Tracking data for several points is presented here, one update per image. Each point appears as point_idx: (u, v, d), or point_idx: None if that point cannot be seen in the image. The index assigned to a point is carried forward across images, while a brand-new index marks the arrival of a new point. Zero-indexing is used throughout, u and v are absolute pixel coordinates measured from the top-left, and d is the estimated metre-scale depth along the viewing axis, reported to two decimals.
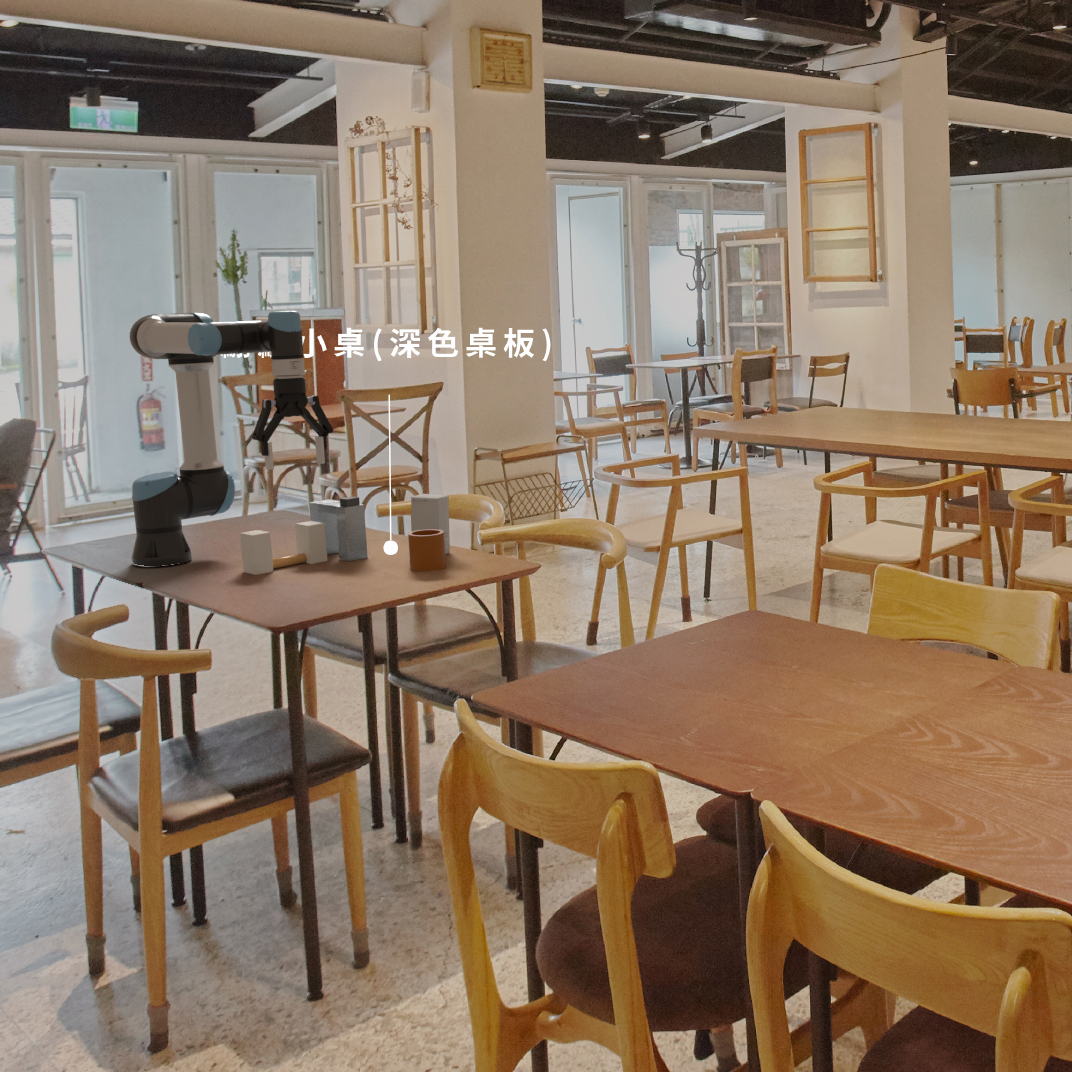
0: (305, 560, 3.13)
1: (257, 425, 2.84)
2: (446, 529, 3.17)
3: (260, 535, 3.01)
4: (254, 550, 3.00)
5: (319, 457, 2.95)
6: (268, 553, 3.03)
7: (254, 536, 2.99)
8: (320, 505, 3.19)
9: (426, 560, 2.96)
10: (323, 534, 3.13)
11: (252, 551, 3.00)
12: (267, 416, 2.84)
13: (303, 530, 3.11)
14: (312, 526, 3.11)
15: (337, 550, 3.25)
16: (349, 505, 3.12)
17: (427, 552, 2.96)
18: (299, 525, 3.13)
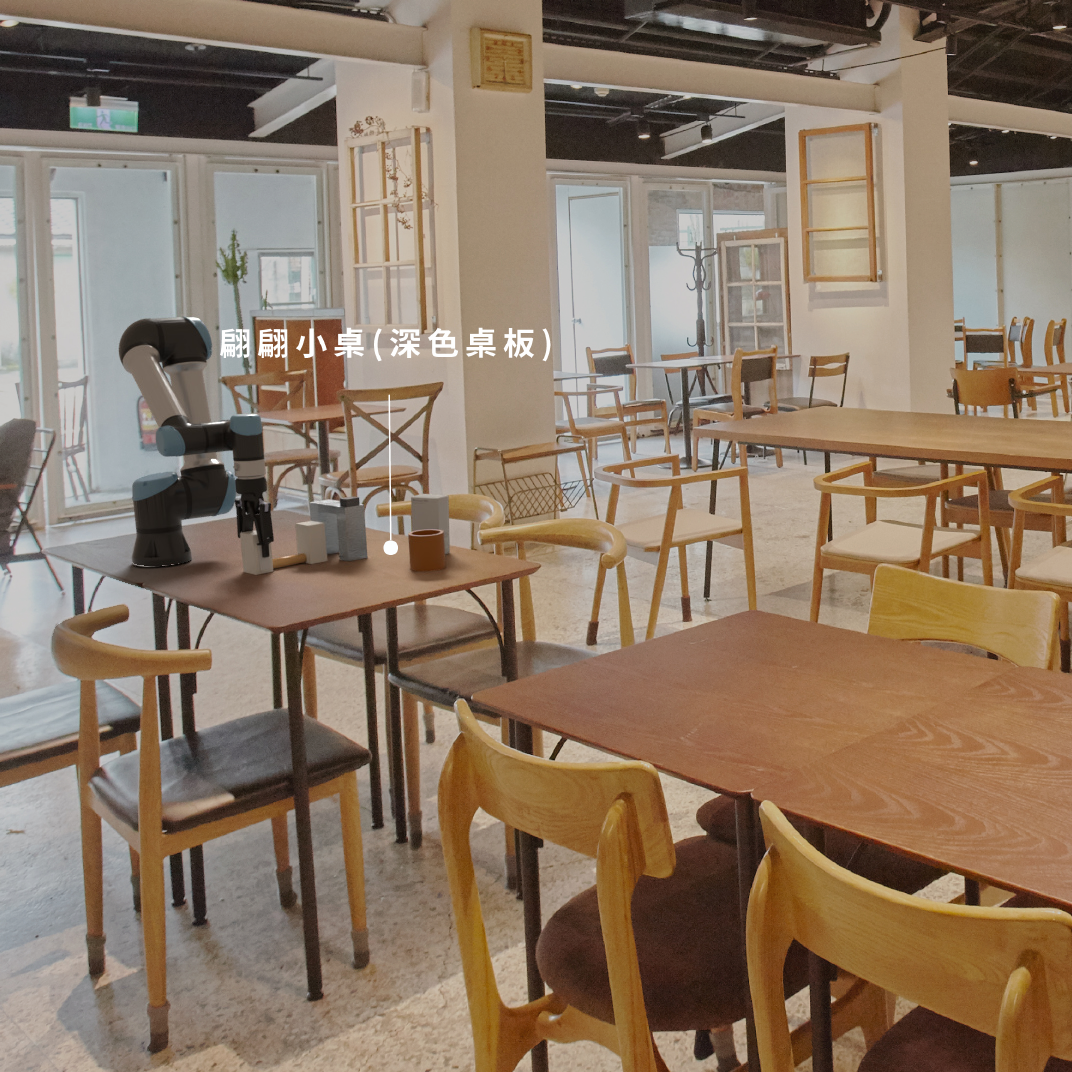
0: (305, 560, 3.13)
1: None
2: (446, 529, 3.17)
3: None
4: (254, 550, 3.00)
5: None
6: None
7: (254, 536, 2.99)
8: (320, 505, 3.19)
9: (426, 560, 2.96)
10: (323, 534, 3.13)
11: (252, 550, 3.00)
12: (238, 515, 3.05)
13: (303, 530, 3.11)
14: (312, 526, 3.11)
15: (337, 550, 3.25)
16: (349, 505, 3.12)
17: (427, 552, 2.96)
18: (299, 525, 3.13)
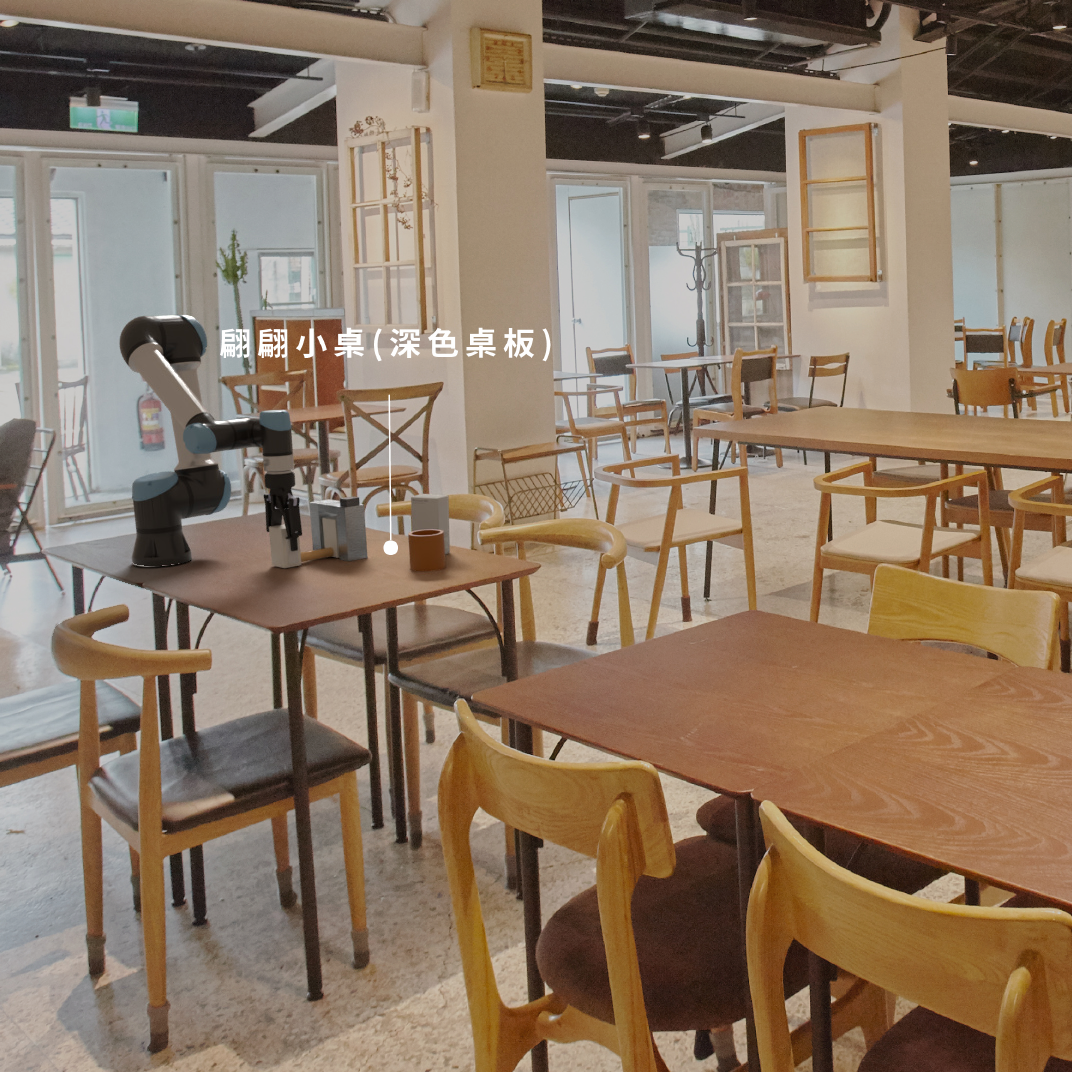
0: (332, 554, 3.18)
1: None
2: (446, 529, 3.17)
3: None
4: (283, 543, 3.05)
5: None
6: None
7: (283, 530, 3.05)
8: (320, 505, 3.19)
9: (426, 560, 2.96)
10: None
11: (280, 544, 3.06)
12: (267, 509, 3.11)
13: (331, 524, 3.17)
14: None
15: None
16: (349, 505, 3.12)
17: (427, 552, 2.96)
18: (326, 519, 3.18)
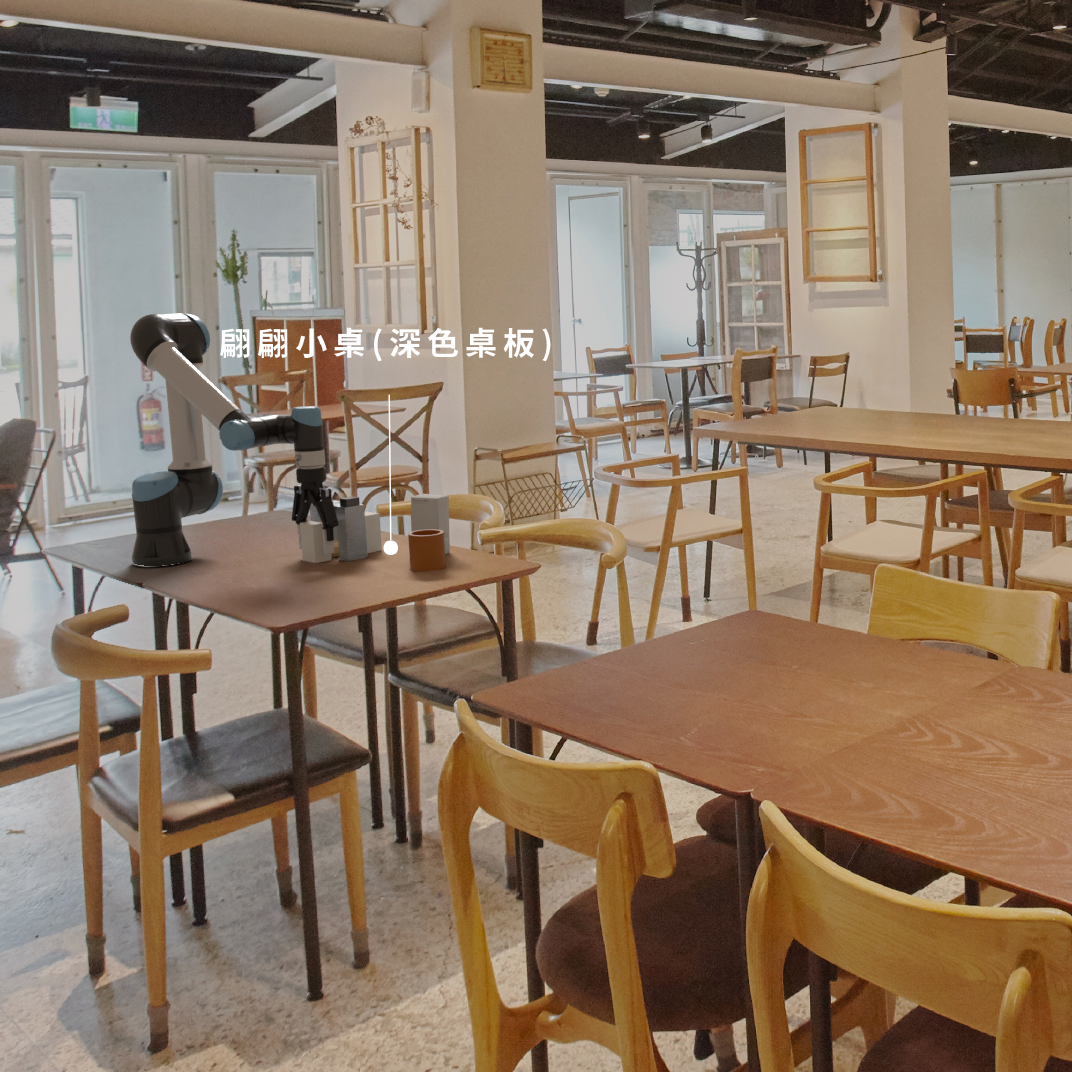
0: None
1: None
2: (446, 529, 3.17)
3: (320, 525, 3.12)
4: (314, 539, 3.12)
5: None
6: None
7: (314, 526, 3.11)
8: None
9: (426, 560, 2.96)
10: (378, 524, 3.25)
11: (312, 540, 3.12)
12: (295, 500, 3.17)
13: None
14: (368, 516, 3.22)
15: None
16: (349, 505, 3.12)
17: (427, 552, 2.96)
18: None
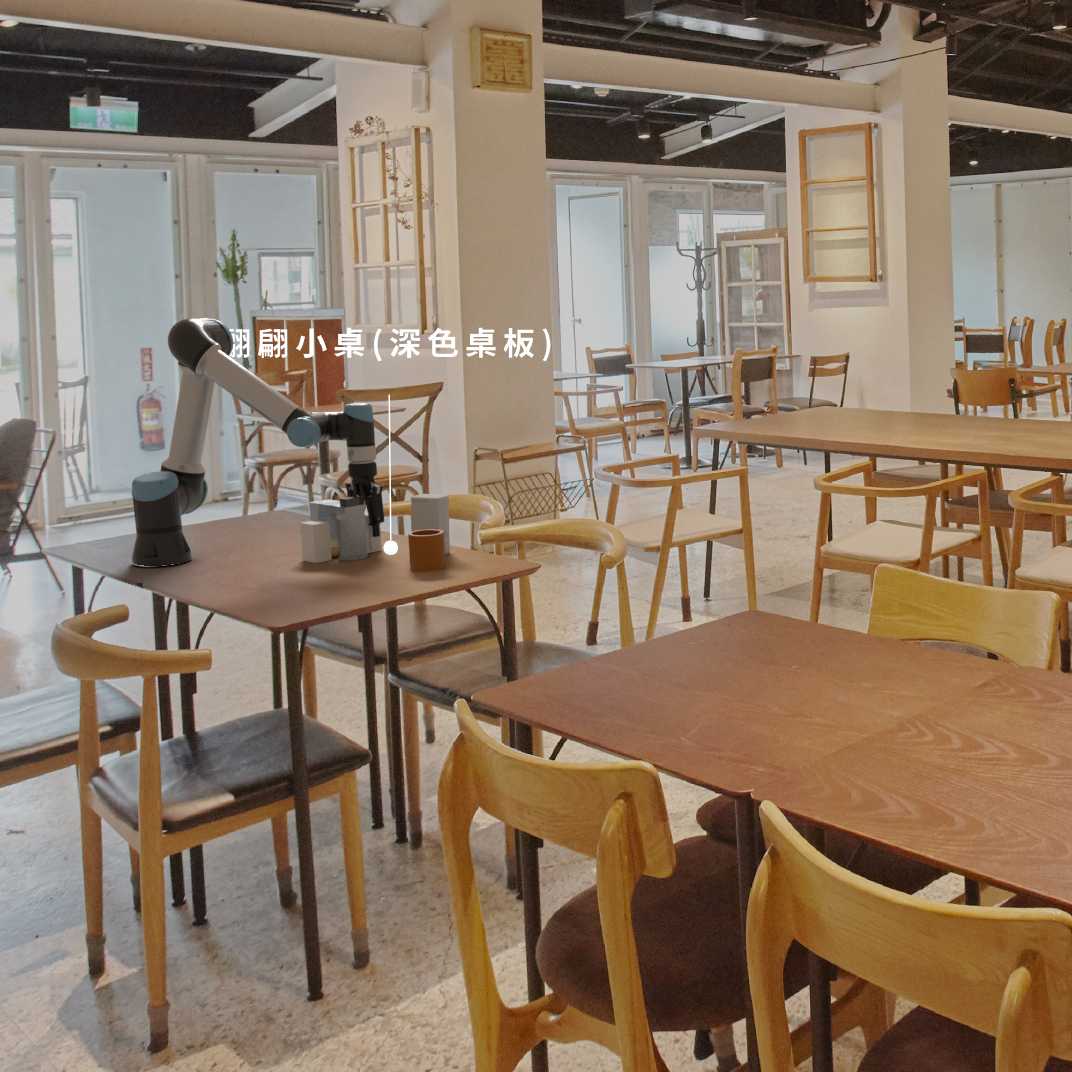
0: None
1: None
2: (446, 529, 3.17)
3: (320, 525, 3.12)
4: (314, 539, 3.11)
5: None
6: (327, 542, 3.14)
7: (314, 526, 3.11)
8: (320, 505, 3.19)
9: (426, 560, 2.96)
10: None
11: (312, 540, 3.12)
12: None
13: None
14: (368, 516, 3.22)
15: None
16: (349, 505, 3.12)
17: (427, 552, 2.96)
18: None
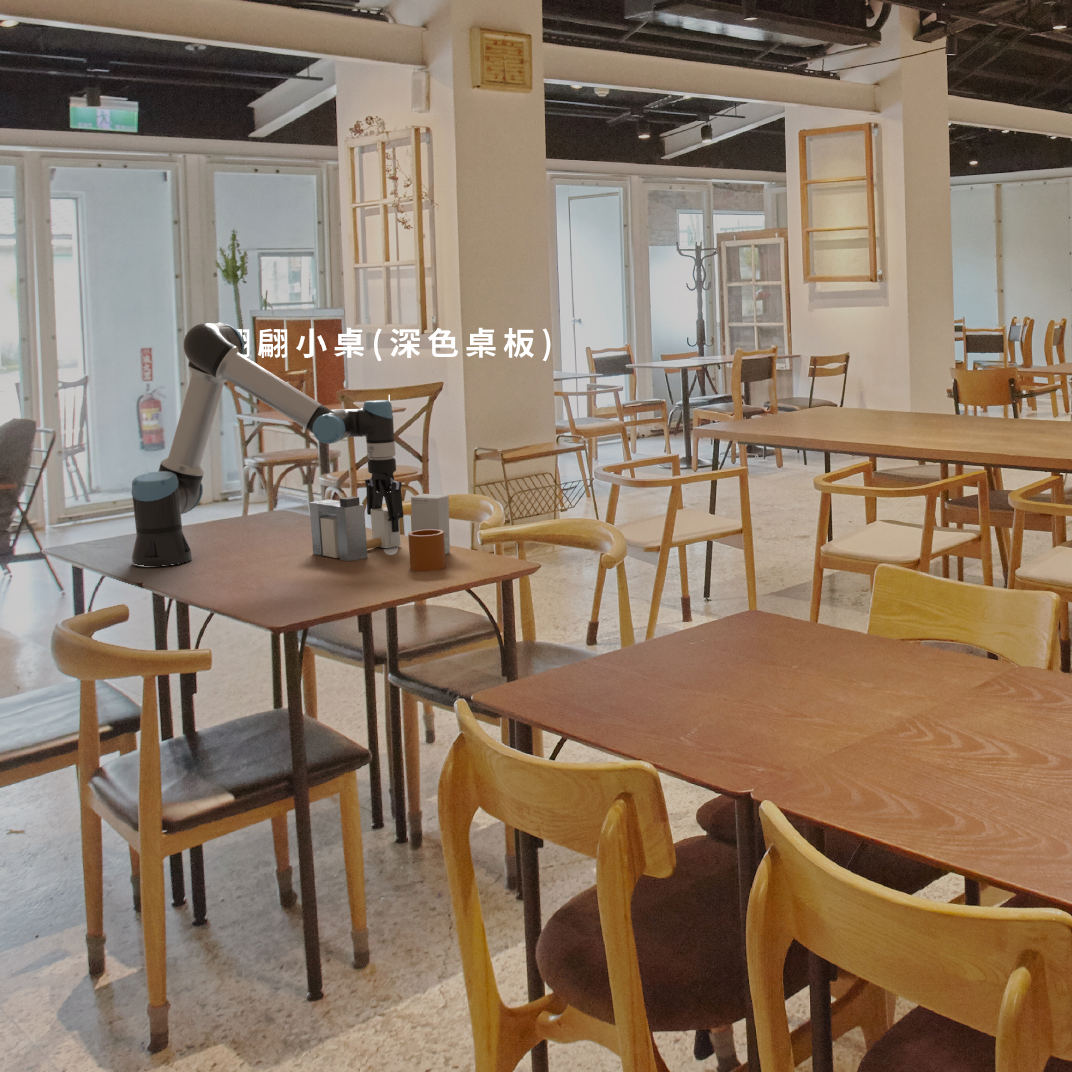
0: (380, 544, 3.28)
1: None
2: (446, 529, 3.17)
3: None
4: (334, 534, 3.16)
5: None
6: None
7: (334, 521, 3.15)
8: (320, 505, 3.19)
9: (426, 560, 2.96)
10: None
11: (332, 535, 3.16)
12: (368, 493, 3.32)
13: (379, 516, 3.27)
14: (387, 512, 3.26)
15: None
16: (349, 505, 3.12)
17: (427, 552, 2.96)
18: (374, 511, 3.28)
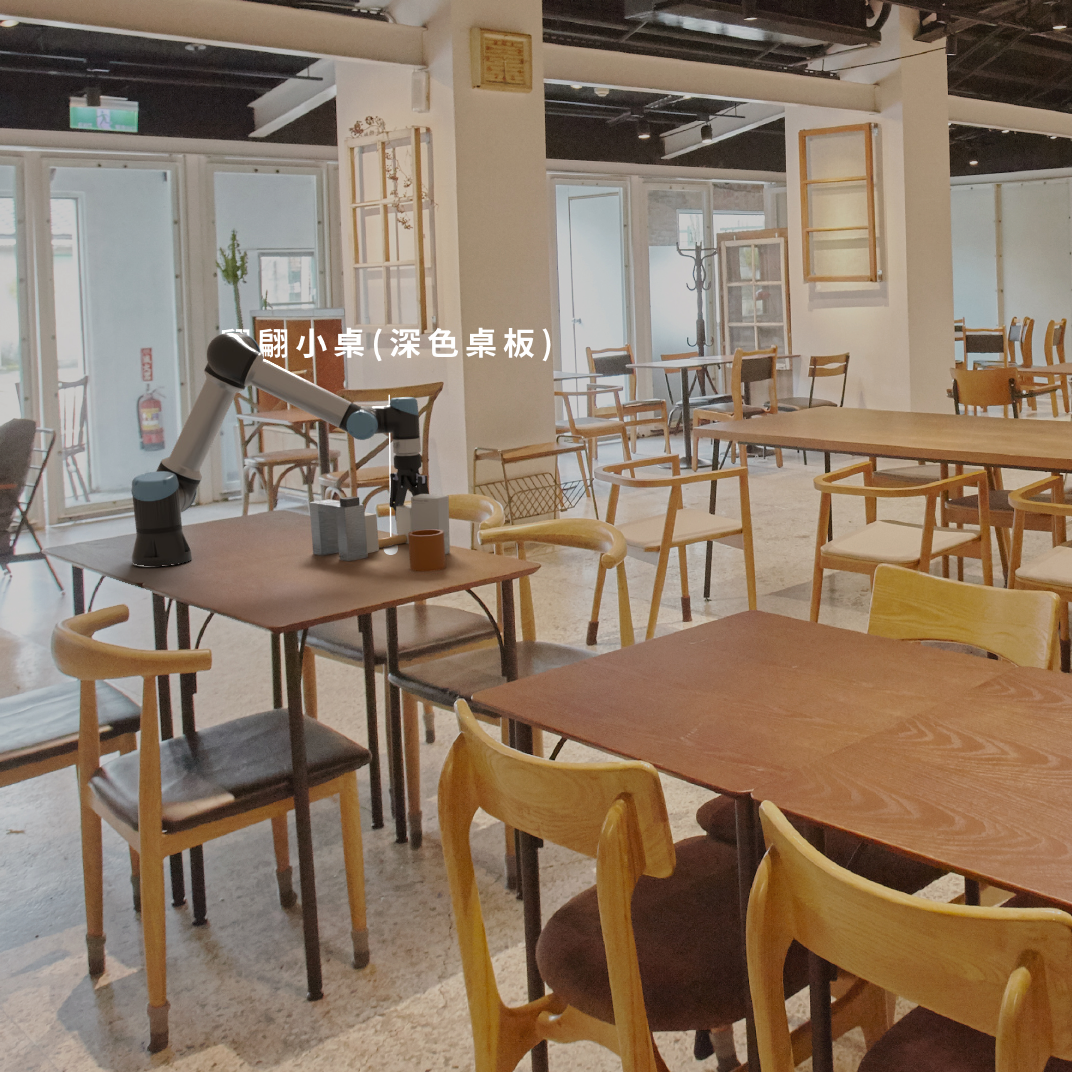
0: (406, 540, 3.34)
1: None
2: (446, 529, 3.17)
3: (368, 516, 3.22)
4: None
5: None
6: (374, 533, 3.24)
7: None
8: (320, 505, 3.19)
9: (426, 560, 2.96)
10: None
11: None
12: (392, 487, 3.38)
13: (404, 512, 3.33)
14: None
15: (337, 550, 3.25)
16: (349, 505, 3.12)
17: (427, 552, 2.96)
18: (400, 508, 3.34)
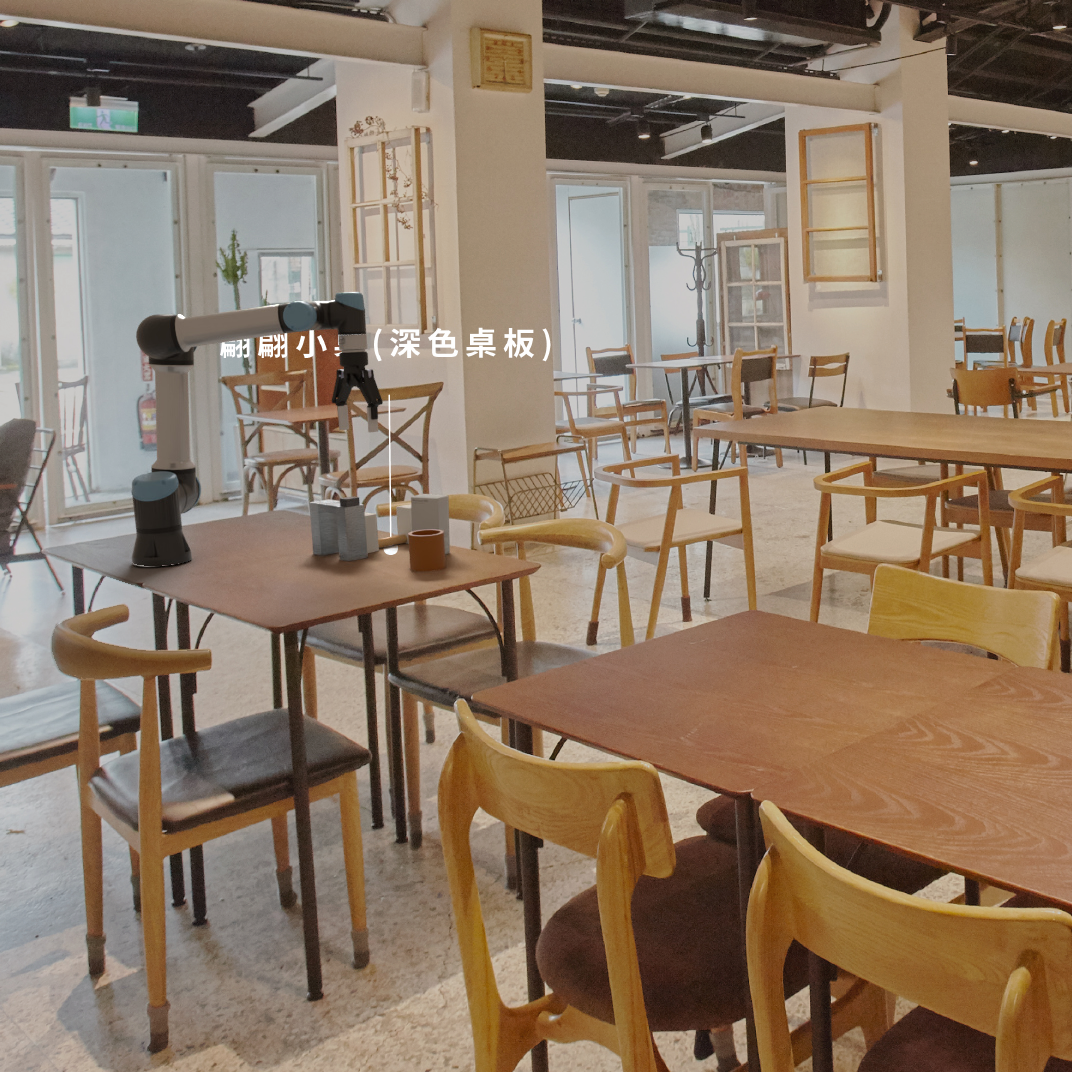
0: (406, 540, 3.34)
1: None
2: (446, 529, 3.16)
3: (368, 516, 3.22)
4: None
5: None
6: (374, 533, 3.24)
7: None
8: (320, 505, 3.19)
9: (426, 560, 2.96)
10: None
11: None
12: (337, 384, 3.29)
13: (404, 512, 3.33)
14: None
15: (337, 550, 3.25)
16: (349, 505, 3.12)
17: (427, 552, 2.96)
18: (400, 508, 3.34)
